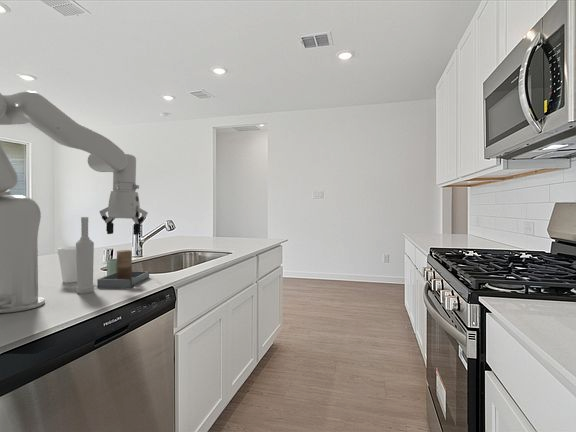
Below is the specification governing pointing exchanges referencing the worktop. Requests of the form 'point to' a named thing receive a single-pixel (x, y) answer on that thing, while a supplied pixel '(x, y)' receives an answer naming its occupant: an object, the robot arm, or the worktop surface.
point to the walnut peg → (124, 264)
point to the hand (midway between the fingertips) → (123, 234)
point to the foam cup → (68, 263)
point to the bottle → (84, 260)
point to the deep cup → (111, 266)
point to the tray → (122, 280)
